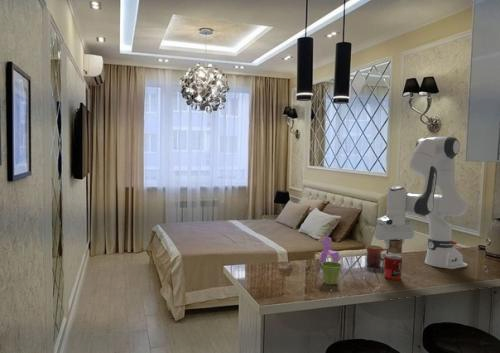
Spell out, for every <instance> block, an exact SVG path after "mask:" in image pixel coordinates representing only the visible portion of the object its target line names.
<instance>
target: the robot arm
mask: <svg viewBox="0 0 500 353" xmlns="http://www.w3.org/2000/svg"><path fill="white" fill-rule="evenodd" d="M460 148H461V144H460V141H459V140H458V139H457V137H454V136H453V137H452V136H432V137H422V138H420V139H418V140H417V142H416V143H415V149H414V150H413V152H412V155H411V158H410V160H409V167H410V169H411V171H413V172H414V174H416V175H418V176H419V177H421V178H424V185H423V191H422V193H410V192H407V191H406V188H405V187H404V186H402V185H401V186H399V185H398V186H397V185H396V186H391V187H390V188H388V191H387V195H386V212H385V215H382V216H381V217H378V218H376V223H377V224H376V225H375V231H374V237H375V239H376V240H379V241H384V243H385V249H386V248H387V249H391V245H389V240H392V239H398V240H401V241H402V245H404V243H405V240H411V239H413V238H414V237H415V230H414V222H413V221H412V220H411V219H406V213H407V214H416V215H419V216H422V217H423V216H424V217H426V219H427V222H428V233H429V234H428V239H427V252H426V255H425V258H424V259H425V260H424V264H426V265H428V266H432V267H437V268H444V269H449V270H455V269H460V268H465V267H466V268H467V267H468V263H466V262H464V261H463V257H464V256H463V255H462V253H461V252H459V251H458V249H456V248H455V247H454V246H456V245H457V244H458V242H457V241H456V240H452V225H451V224H450V223H449V222H447V221H446V220H445V219H444V218H443V216H450V217H461V216H463V215H465V214H467V211H468V202H467V201H466V199H465V198H464V197H463V196H461V195H460V193H459V191H458V190H457V187H456V182H455V180H456V179H455V178H456V177H455V176H456V174H455V173H456V169H455V168H456V163H455V157H456V156H457V155H458V154H459V152H460ZM436 188H437V189H438V190H440V193H441V194H438V193H436V194H435V192H436Z"/></svg>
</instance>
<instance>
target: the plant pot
mask: <svg viewBox="0 0 500 353" xmlns="http://www.w3.org/2000/svg"><path fill="white" fill-rule="evenodd" d="M320 265H321V268H322V274H323V276H322V277H323V282H324V284H326V285H337V284H339V282H338V281H339V276H340V273H341V269H342V266H343V264H341V263H339V262H338V263H337V262H333V261H326V262H322V263H321V264H320Z"/></svg>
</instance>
